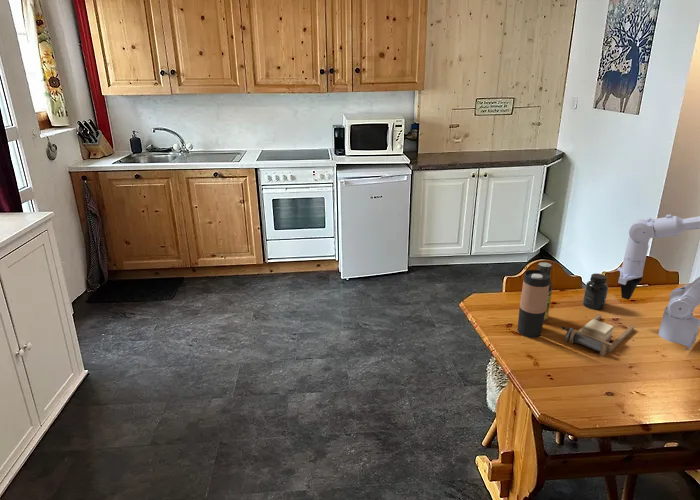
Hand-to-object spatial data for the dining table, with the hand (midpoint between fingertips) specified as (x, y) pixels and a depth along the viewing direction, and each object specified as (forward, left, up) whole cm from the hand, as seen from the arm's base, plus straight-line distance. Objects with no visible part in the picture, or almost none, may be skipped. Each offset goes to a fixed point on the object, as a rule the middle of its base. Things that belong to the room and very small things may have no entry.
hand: (625, 298), depth 154 cm
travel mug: (+18, +25, -10) cm, 32 cm away
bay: (+1, +11, -10) cm, 15 cm away
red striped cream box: (+1, +16, -9) cm, 19 cm away
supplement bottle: (+11, -6, -10) cm, 16 cm away
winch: (+2, +22, -10) cm, 25 cm away
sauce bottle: (+20, +16, -10) cm, 28 cm away
